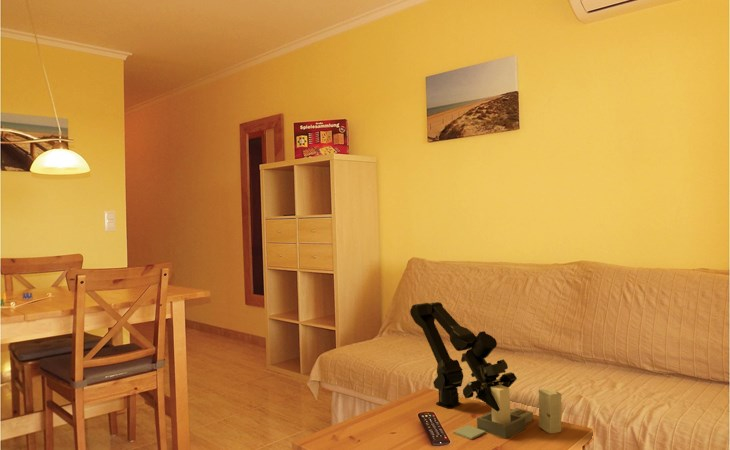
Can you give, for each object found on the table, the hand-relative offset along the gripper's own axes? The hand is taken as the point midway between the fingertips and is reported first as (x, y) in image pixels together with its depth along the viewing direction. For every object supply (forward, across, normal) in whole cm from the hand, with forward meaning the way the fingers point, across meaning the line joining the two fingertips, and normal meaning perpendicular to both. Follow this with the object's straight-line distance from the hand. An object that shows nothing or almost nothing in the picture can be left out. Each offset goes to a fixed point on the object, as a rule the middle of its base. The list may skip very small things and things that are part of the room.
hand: (503, 409), depth 169 cm
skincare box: (+10, +12, 0) cm, 16 cm away
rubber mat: (+2, -10, +8) cm, 13 cm away
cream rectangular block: (+4, 0, +6) cm, 7 cm away
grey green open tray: (+3, +4, +6) cm, 8 cm away
